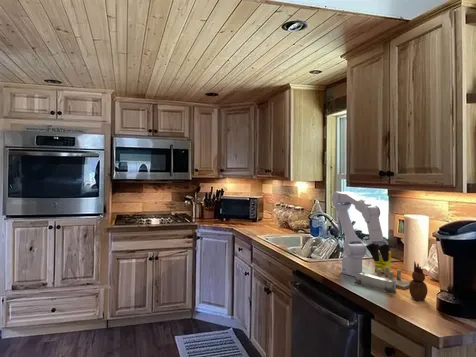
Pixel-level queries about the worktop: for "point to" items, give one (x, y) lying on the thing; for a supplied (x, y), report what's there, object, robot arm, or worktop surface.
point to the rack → (393, 278)
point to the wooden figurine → (418, 284)
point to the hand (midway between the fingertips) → (381, 261)
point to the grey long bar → (375, 282)
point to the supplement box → (383, 263)
